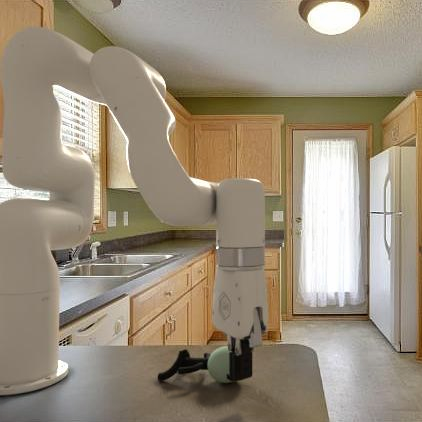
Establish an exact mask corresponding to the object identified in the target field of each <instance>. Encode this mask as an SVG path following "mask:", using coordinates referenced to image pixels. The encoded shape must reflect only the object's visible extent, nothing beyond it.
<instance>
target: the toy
mask: <svg viewBox="0 0 422 422" xmlns="http://www.w3.org/2000/svg"><path fill="white" fill-rule="evenodd" d="M229 352H232V351H229V350H228V345H224V346H220V347H218V348H216V349H214V351H212V352H211V353H209V352H204V353H203V357H191V355H190V352H189V350H188V349H183V350H179V351H178V354H177V357H176V359H175V361H174V362H173V364H172V365H171V366H170V367H169V368H168V369H166V370H165V371H161V372H158V374H157V380H158V382H162V381H163V382H164V381H166V380H169V379H170V378H172V377H173V376H175V374H178V375H187V374H193V373H196V372H198V371H208V373H209V375H210V377H211V378H212V379H213V380H215V381H217V382H218V383H222V384H231V383H234V382H235V381H234V380H233V379H231V378H230V377H229Z"/></svg>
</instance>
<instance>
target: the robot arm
mask: <svg viewBox="0 0 422 422" xmlns="http://www.w3.org/2000/svg"><path fill="white" fill-rule="evenodd" d="M0 83H1V91H2V96H3V124H2V126H3V127H2V146H1V147H2V148H1V149H2V151H1V169H2V170H1V171H2V174H3V178H4V179H5V181H6V182H7V183H8V184H9V185H11V186H13V187H15V188H18V189H23V190H27V191H28V190H29V191H36V192H47V193H49V198H39V197H37V198H36V197H16V198H10V199H7V200H4V201H2V202H0V396H12V395H13V396H14V395H20V394H24V393H30V392H34V391H37V390H41V389H44V388H47V387H50V386H52V385H54V384H56V383H58V382H60V381H62V380H63V379H64V378H65V377H67V375H68V373H69V365H68V363H67V362H64V361H62V360H59V356H60V355H59V352H60V350H59V349H60V348H59V347H60V304H61V303H60V300H61V297H60V296H61V276H60V275H61V274H60V269H59V267H58V264H57V262H56V260H55V258H54V256H53V254H52V251H59V250H68V249H73V248H77V247H79V246H81V245H83V244H84V243H85V242H86V241H87V240H88V238H89V237H90V235H91V233H92V230H93V226H94V225H93V224H94V211H95V210H94V209H95V208H94V207H95V186H96V184H95V183H96V178H95V177H96V176H95V175H96V174H95V173H96V172H95V168H94V164H93V162H92V160H91V158H90V157H89V155H88V154H87V152H85V151H84V150H82V149H81V148H79V147H77V146H75V145H71V144H68V143H64V142H63V139H62V125H63V118H62V112H61V108H60V104H59V101H58V100H57V97H56V95H55V93H54V91H53V87H57V88H59V89H61V90H63V91H65V92H68V93H70V94H72V95H74V96H76V97H79V98H80V99H83V100H86V101H90V102H92V103H95V104H96V103H97V104H101V105H105V106H106V107H107V108H108V110H109V112H110V113H111V115H112V117H113V119H114V120H115V122H116V124H117V125H118V128H119V129H120V131H121V132H122V135H123V136H124V137H125V139H126V142H127V143H126V161H127V168H128V171H129V175H130V178H131V180H132V181H133V183H134V185H135V187H136V189H137V190H138V192H139V194H140V195H141V197H142V199H143V200H144V202H145V204H146V205H147V207H148V208H149V209H150V211H151V212H152V214H154V216H155V217H156V218H157V219H158V220H159V221H161V222H163V223H164V224H166V225H168V226H172V227H204V226H211V225H215V237H216V238H215V241H216V242H215V246H216V247H215V273H214V280H213V294H212V310H211V311H212V313H211V314H212V315H211V323H212V326H213V327H214V328H215V329H217V330H218V331H220V332H222V333H223V334H224V335H225V336H226V344H227V345H226V346H228V350H229V351H232V352H229V377H230V378H231V379H233V380H234V382H240V381H243V380H246V379H250V378H252V377H253V353H254V352H255V348H259V347H262V346H263V344H264V342H263V335H265V334H266V333H267V332H268V328H269V301H268V286H267V278H266V272H265V268H266V212H265V211H266V208H265V207H266V193H265V192H266V191H265V190H266V189H265V186H264V183H263V182H261V181H260V180H258V179H254V178H246V177H245V178H243V177H238V178H237V177H234V178H233V177H231V178H225V179H222V180H220V181H219V182H214V181H208V180H203V179H201V178H196V177H192V176H189V174H188V173H187V171H186V170H185V168H184V166H183V165H182V163H181V162H180V160H179V159H178V156H177V155H176V153H175V151H174V150H173V147H172V145H171V142H170V140H169V137H170V136H171V135H172V133H173V132H174V131H175V129H176V125H177V121H176V118H175V115H174V113H173V112H172V110H171V109H170V107H169V106H168V104H167V102H166V98H167V97H166V96H167V87H166V83H165V80H164V78H163V76H162V75H161V73H160V72H159V71H157V69H155V68H154V67H152V66H151V65H150V64H149V63H148V62H146V61H144V59H142V58H141V57H139V56H138V55H136V54H135V53H133V52H132V51H130V50H128V49H126V48H124V47H121V46H115V45H110V46H104V47H101V48H100V49H98V50H97V51H95V52H94V53H93V52H92V51H90V50H88V48H85V47H84V46H82V45H81V44H79V43H77V42H75V41H74V40H72V39H71V38H69V37H68V36H66V35H65V34H62V33H60V32H58V31H56V30H53V29H50V28H47V27H43V26H27V27H24V28H22V29H20V30H19V31H17V32H16V33H15V34H13V36H12V37H11V38H10V39H9V40H8V42H7V43H6V45H5V47H4V49H3V52H2V55H1V59H0Z"/></svg>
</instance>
